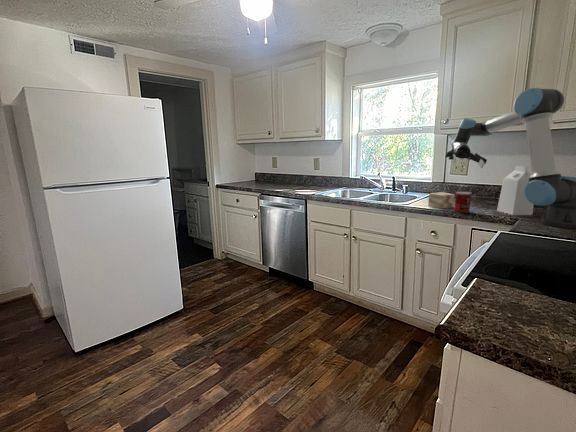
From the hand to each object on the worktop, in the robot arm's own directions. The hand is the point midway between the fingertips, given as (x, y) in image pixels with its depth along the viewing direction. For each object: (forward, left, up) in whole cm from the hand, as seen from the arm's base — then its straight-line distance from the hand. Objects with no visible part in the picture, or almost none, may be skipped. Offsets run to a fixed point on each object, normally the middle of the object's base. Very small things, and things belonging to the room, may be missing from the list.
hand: (468, 163), depth 164 cm
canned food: (-10, -9, -29) cm, 32 cm away
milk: (-34, +5, -29) cm, 45 cm away
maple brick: (-11, -25, -29) cm, 40 cm away
